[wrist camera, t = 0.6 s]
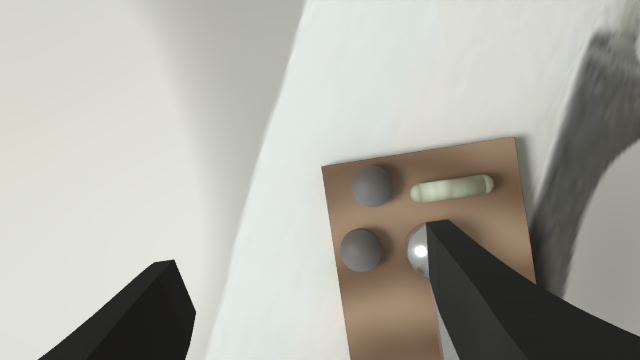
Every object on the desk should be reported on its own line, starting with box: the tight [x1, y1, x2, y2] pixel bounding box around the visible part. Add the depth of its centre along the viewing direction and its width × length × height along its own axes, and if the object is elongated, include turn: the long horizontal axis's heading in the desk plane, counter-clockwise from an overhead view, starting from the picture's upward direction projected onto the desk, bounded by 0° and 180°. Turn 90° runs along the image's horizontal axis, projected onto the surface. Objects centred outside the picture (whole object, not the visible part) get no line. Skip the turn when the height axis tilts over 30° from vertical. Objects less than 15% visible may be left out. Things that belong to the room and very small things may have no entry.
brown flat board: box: [322, 137, 536, 360], centre depth 30 cm, size 18×14×3 cm
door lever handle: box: [405, 223, 459, 360], centre depth 28 cm, size 12×4×3 cm, turn 8°
